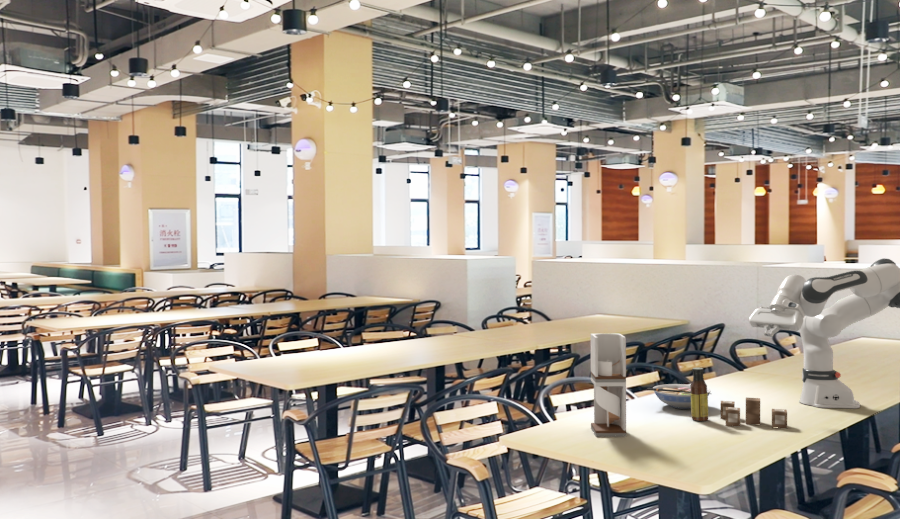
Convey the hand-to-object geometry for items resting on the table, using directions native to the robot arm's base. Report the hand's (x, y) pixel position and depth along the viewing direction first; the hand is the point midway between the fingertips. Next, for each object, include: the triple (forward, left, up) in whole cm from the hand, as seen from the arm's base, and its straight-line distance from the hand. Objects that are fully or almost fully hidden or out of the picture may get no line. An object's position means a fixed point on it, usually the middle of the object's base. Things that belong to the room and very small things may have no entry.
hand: (768, 335), depth 301 cm
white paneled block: (+15, +7, -31) cm, 36 cm away
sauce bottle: (+25, +14, -32) cm, 43 cm away
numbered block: (-3, +16, -31) cm, 36 cm away
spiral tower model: (+55, +43, -32) cm, 77 cm away
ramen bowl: (+33, -7, -32) cm, 46 cm away
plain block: (+6, +13, -31) cm, 35 cm away
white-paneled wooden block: (+13, +18, -31) cm, 39 cm away
